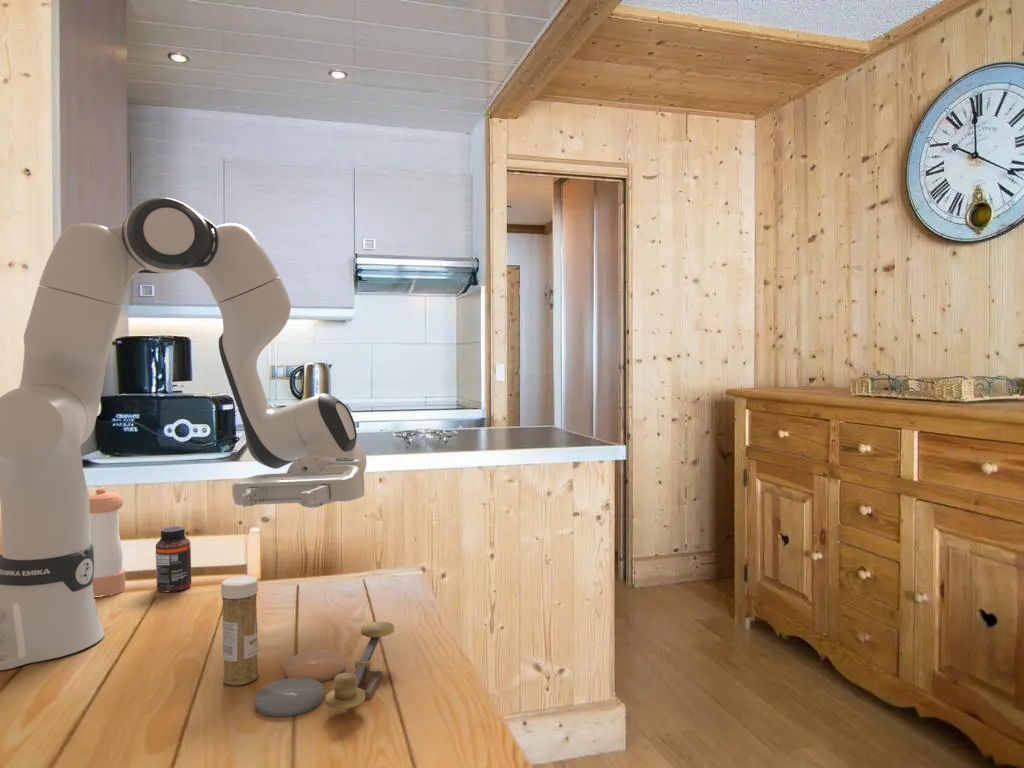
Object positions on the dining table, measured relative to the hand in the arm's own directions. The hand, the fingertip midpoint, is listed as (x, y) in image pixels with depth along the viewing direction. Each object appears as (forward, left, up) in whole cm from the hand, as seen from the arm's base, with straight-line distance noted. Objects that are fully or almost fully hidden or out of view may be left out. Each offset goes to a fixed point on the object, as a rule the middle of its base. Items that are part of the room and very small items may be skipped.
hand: (275, 500), depth 106 cm
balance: (+17, -12, -22) cm, 30 cm away
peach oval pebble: (+9, -8, -22) cm, 25 cm away
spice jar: (0, -11, -22) cm, 25 cm away
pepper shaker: (-42, +22, -22) cm, 52 cm away
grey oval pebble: (+9, -17, -22) cm, 29 cm away
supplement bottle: (-30, +25, -22) cm, 45 cm away
